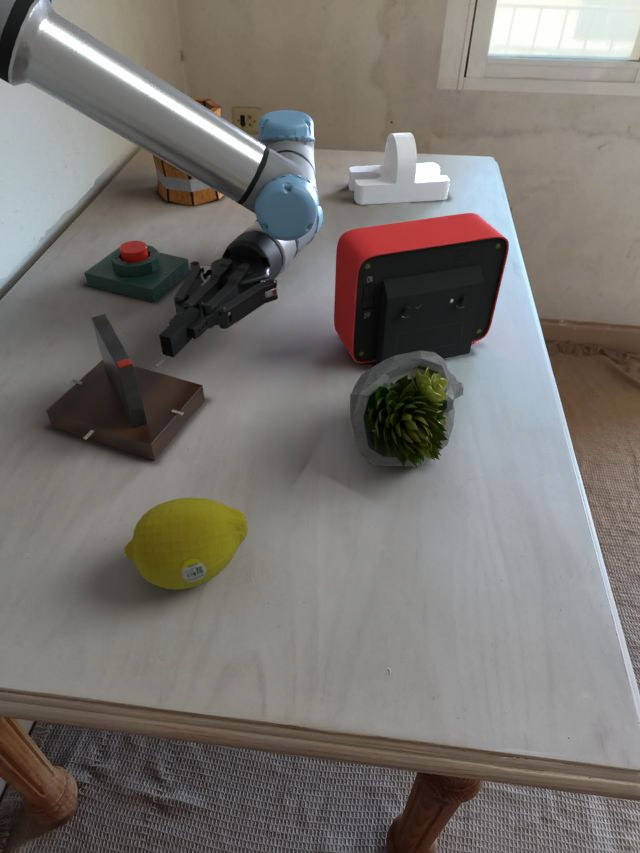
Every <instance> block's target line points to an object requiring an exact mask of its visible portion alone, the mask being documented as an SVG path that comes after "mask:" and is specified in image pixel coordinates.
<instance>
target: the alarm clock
mask: <svg viewBox="0 0 640 853" xmlns="http://www.w3.org/2000/svg"><path fill="white" fill-rule="evenodd" d="M509 249H510V242H509V240H508V238H506V237H505V236H504V235H503V234H502V233H501V232H499V231H498V230H497V229H496V228H495V227H493V226H492V225H491V224H490V223H488V222H487V220H485V219H484V218H483V217H481V216H480V215H479V214H478V213H475V212H464V213H457V214H449V215H442V216H435V217H428V218H421V219H415V220H406V221H399V222H392V223H385V224H377V225H371V226H370V225H369V226H363V227H357V228H352V229H349V230H347V231H344V232H343V233H342V234H341V235H340V236H339V238H338V241H337V243H336V252H335V277H334V278H335V280H334V305H333V306H334V308H333V310H334V311H333V326H334V330H335V332H336V333H337V335H338V337H339V338H340V340H341V341H342V343H343V345H344V347H345V348H346V349H347V351H348V353H349V354H350V357H351V358H352V360H353V361H354V362H355V363H357V364H369V363H375V365H377V364H379V363H381V362H382V361H384V360H386V359H388V358H390V357H393V356H395V355H400V354H405V353H410V352H415V351H420V350H421V351H429V352H435V353H436V354H438V355H439V356H440V357H442V358H443V359H447V358H450V357H456V356H461V355H466V354H467V355H468V354H470V353H471V348H472V344H473V343H476V342H479V341H481V340H483V339H484V338H485V337H486V336H487V335H488V333H489V332H490V329H491V326H492V324H493V319H494V315H495V310H496V307H497V302H498V297H499V293H500V289H501V286H502V280H503V277H504V274H505V268H506V265H507V259H508V255H509Z"/></svg>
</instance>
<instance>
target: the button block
mask: <svg viewBox="0 0 640 853" xmlns="http://www.w3.org/2000/svg"><path fill="white" fill-rule="evenodd" d="M146 245H147V250H148V255H149V256H148V258H147V259H146V260H143V261H140V262H130V263H129V262H125V261H123V260H122V258H121V254H120V249H119V248H120V246H119V247H118V248H116V249H115V250H113V251H112V252H111V253H109V254H108V255H106V256H105V257H104V258H103V259H100V261H98V262H97V263H95V264H94V265H93V266H91V267H90V268H88V269H87V270H86V271H85V272H84V273H83V274H84V278H85V281H86V285H87V287H91V288H95V289H99V290H103V291H108V292H111V293H115V294H119V295H123V296H127V297H132V298H135V299H140V300H143V301H148V302H152V303H156V302H157V301H158V300H159V299H160V298H161V297H162V296H163V295H165V294H166V293H167V292H168V291H169V290H170V289H172V288H173V287H174V286H175V285H176V284H177V283H179V281H181V280H182V279H183V278H184V277H186V276H187V275H188V274H189V272H190V270H191V269H190V264H189V258H185V257H181V256H177V255H172V254H168V253H164V252H160V251H159V250H158V249H156V248H155V247H154V246H153V245H148V244H146Z"/></svg>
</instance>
